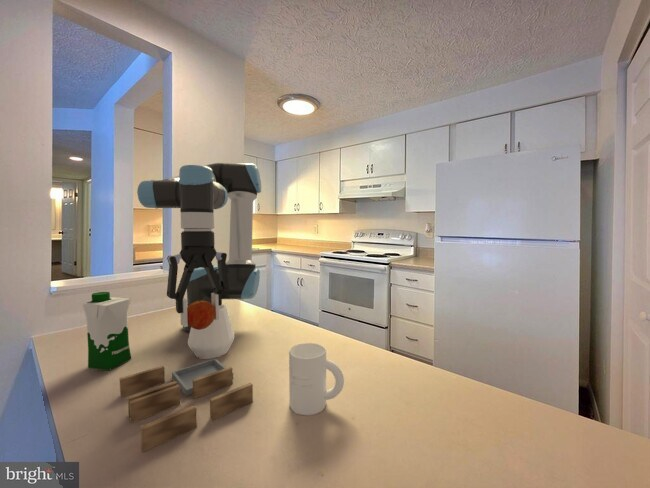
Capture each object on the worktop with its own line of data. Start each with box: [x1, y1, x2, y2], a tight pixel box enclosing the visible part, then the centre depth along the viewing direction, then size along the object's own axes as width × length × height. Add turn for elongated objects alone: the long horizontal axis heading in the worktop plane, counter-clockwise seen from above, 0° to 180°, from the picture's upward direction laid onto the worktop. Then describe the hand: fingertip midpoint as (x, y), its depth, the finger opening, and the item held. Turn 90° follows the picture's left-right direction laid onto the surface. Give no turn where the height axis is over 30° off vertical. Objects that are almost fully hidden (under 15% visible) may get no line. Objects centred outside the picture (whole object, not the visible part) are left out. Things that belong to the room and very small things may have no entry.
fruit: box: [187, 297, 215, 330], centre depth 73 cm, size 7×7×8 cm
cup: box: [187, 304, 235, 360], centre depth 89 cm, size 13×13×14 cm
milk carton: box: [82, 291, 132, 371], centre depth 81 cm, size 9×9×20 cm
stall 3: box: [192, 366, 254, 421], centre depth 65 cm, size 9×11×4 cm
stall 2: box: [129, 385, 198, 453], centre depth 57 cm, size 9×11×4 cm
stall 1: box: [119, 365, 177, 419], centre depth 66 cm, size 9×11×4 cm
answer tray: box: [171, 358, 234, 398], centre depth 74 cm, size 11×11×2 cm
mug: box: [288, 342, 345, 416], centre depth 63 cm, size 8×12×12 cm
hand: (200, 321), depth 73 cm, fingers closed on fruit, 7 cm apart
